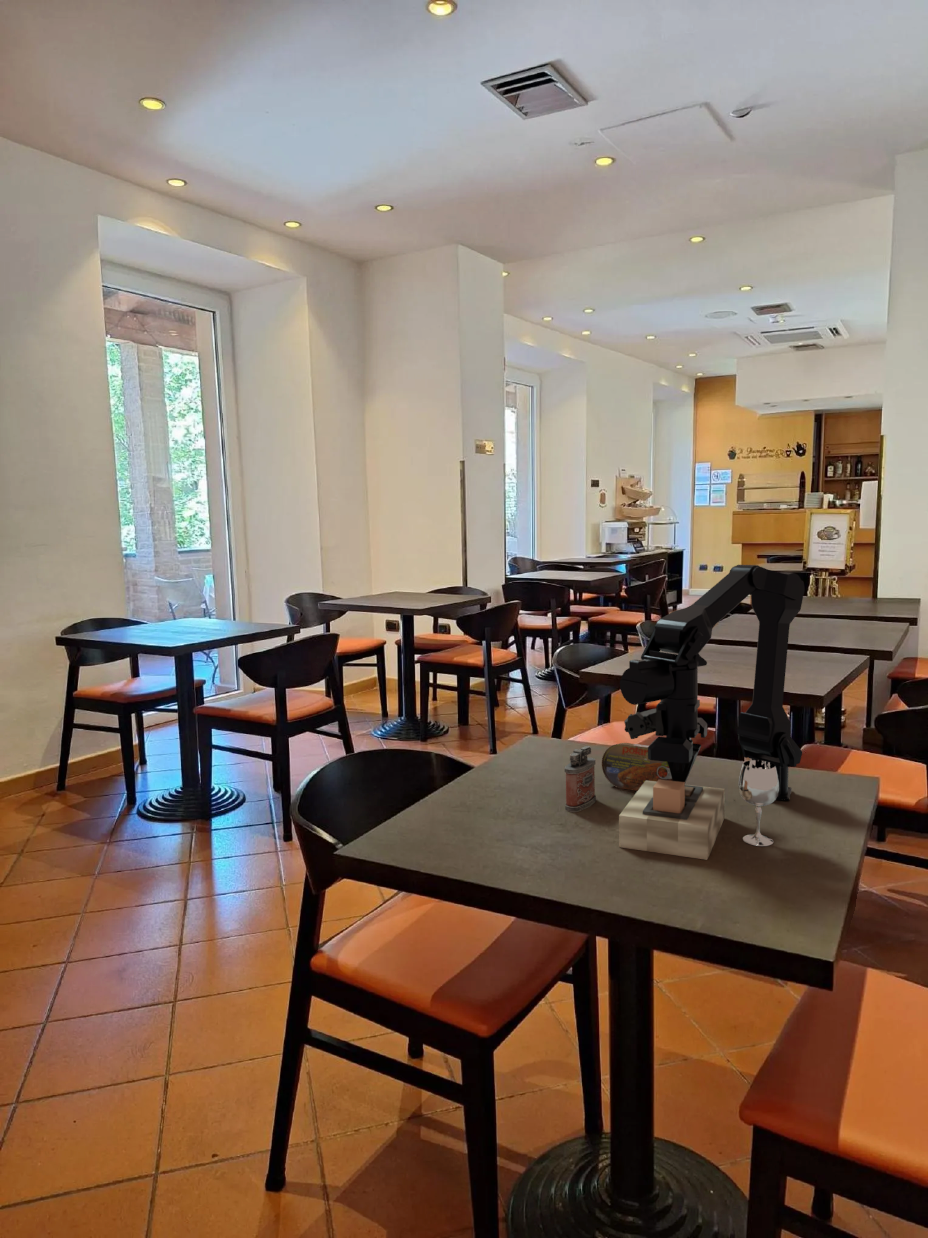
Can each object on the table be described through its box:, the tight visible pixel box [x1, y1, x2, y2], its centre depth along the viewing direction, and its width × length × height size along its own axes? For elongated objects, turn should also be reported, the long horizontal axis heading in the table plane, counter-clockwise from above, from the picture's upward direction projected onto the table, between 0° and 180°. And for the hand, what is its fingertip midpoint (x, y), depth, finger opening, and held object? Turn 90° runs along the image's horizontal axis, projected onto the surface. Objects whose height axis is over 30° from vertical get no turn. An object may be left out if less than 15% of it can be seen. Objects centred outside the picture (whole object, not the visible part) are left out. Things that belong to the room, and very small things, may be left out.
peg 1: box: [653, 780, 686, 814], centre depth 125 cm, size 4×4×5 cm
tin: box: [601, 742, 673, 792], centre depth 150 cm, size 15×3×8 cm, turn 54°
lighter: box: [564, 745, 597, 813], centre depth 142 cm, size 8×3×10 cm, turn 143°
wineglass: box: [738, 759, 779, 847], centre depth 124 cm, size 6×6×12 cm
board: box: [618, 780, 726, 861], centre depth 129 cm, size 18×13×6 cm
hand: (678, 790), depth 132 cm, fingers closed, pressing on peg 2
